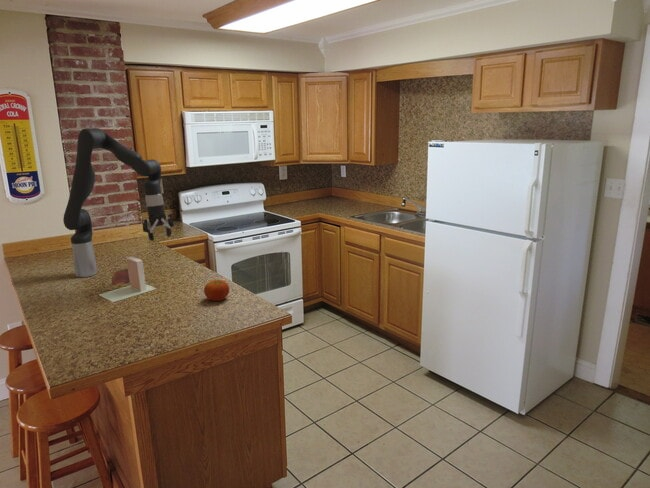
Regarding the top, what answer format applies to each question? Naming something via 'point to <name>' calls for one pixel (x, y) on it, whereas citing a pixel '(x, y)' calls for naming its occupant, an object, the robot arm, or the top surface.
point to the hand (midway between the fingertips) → (160, 238)
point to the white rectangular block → (136, 273)
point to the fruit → (216, 290)
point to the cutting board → (124, 293)
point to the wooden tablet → (121, 277)
